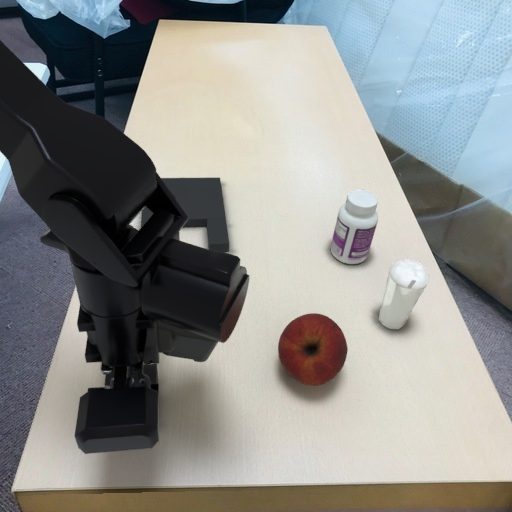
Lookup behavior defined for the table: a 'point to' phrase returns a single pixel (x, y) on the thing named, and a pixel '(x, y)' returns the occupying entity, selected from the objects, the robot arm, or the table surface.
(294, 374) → the apple
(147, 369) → the black block
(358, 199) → the pill bottle
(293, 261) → the table surface
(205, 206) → the base pad
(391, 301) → the milkshake
